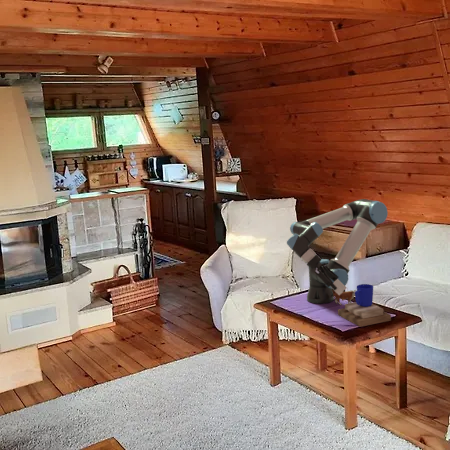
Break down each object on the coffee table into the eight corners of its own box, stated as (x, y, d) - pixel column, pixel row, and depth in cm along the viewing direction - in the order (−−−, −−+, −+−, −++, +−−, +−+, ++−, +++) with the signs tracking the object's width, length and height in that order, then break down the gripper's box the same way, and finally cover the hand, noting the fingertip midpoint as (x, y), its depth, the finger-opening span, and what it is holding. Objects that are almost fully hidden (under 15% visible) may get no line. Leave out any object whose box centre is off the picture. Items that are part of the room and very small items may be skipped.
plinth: (338, 315, 294) (337, 303, 293) (367, 309, 300) (367, 298, 299) (359, 326, 275) (359, 315, 274) (390, 320, 281) (390, 308, 280)
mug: (349, 307, 286) (348, 288, 284) (363, 301, 294) (362, 283, 292) (363, 310, 280) (362, 291, 278) (376, 304, 287) (376, 285, 286)
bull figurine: (358, 305, 306) (358, 290, 305) (333, 305, 309) (333, 291, 308) (358, 302, 311) (358, 288, 309) (333, 302, 314) (333, 288, 312)
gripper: (311, 259, 303) (342, 291, 299) (300, 268, 285) (333, 301, 281) (321, 250, 300) (352, 281, 296) (310, 258, 282) (343, 292, 278)
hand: (342, 291), depth 288 cm, fingers open, 7 cm apart
